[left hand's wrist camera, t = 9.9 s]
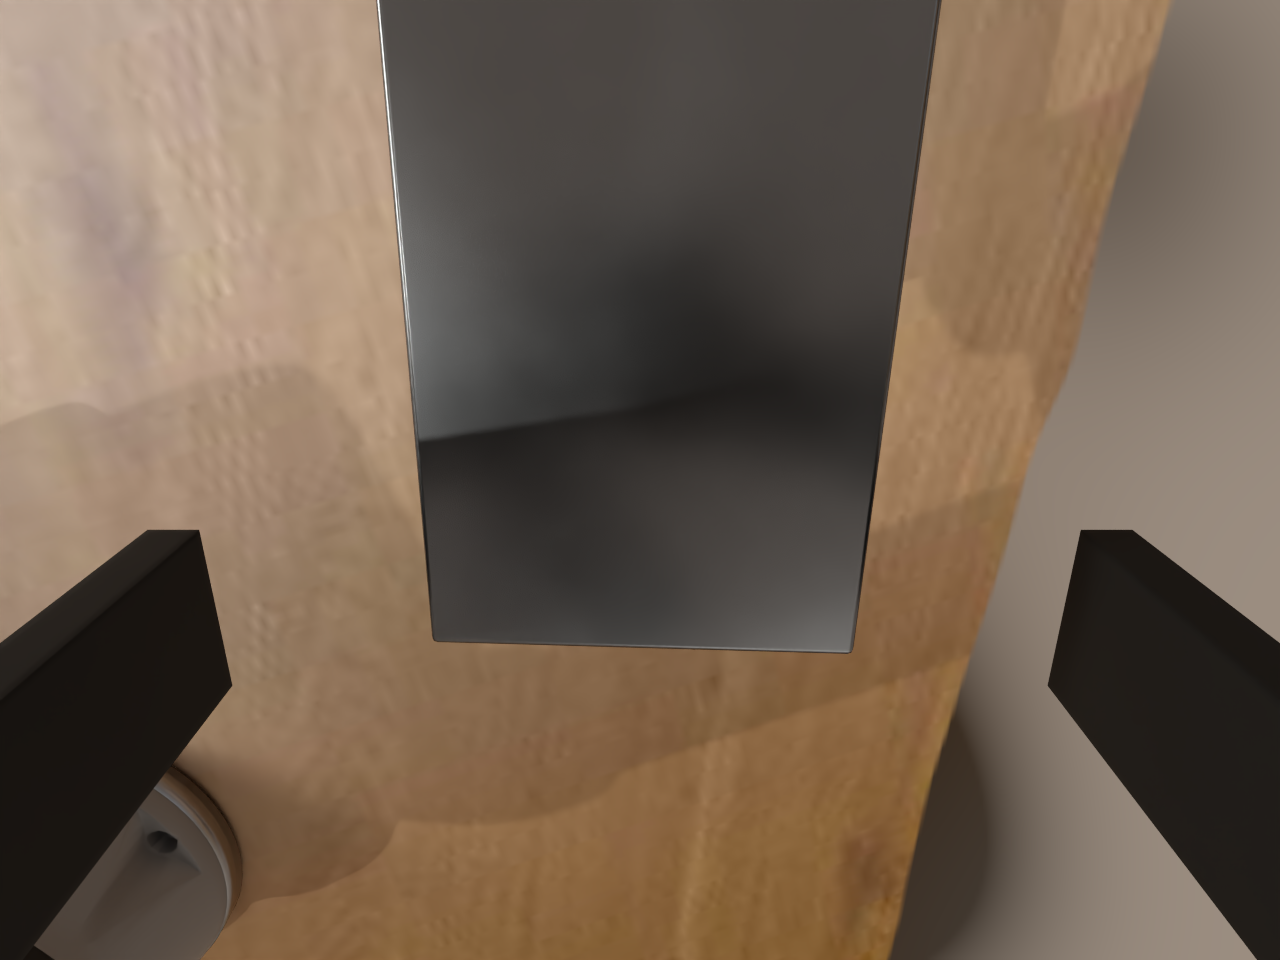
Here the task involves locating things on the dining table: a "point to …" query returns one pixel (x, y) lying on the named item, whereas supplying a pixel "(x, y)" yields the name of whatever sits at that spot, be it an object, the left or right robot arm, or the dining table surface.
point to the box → (651, 307)
